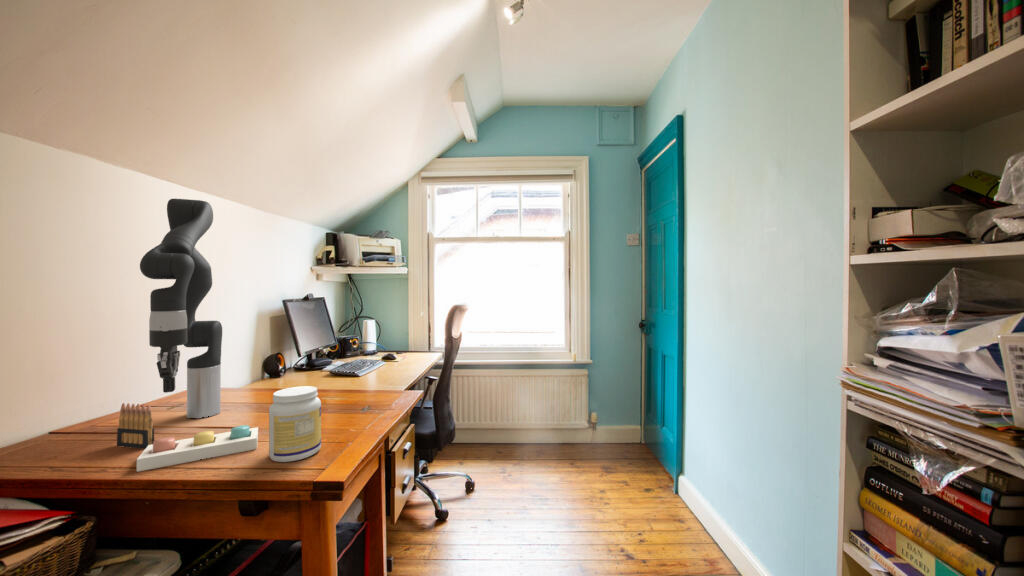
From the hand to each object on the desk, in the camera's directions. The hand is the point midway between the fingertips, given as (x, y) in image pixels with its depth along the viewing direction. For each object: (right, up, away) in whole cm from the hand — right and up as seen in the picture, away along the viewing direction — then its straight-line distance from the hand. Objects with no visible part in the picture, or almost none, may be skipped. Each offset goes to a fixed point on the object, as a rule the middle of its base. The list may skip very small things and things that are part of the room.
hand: (169, 391), depth 100 cm
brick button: (+2, -16, -4) cm, 16 cm away
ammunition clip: (-14, -17, +5) cm, 23 cm away
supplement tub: (+34, -17, 0) cm, 38 cm away
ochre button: (+9, -16, 0) cm, 18 cm away
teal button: (+16, -16, +5) cm, 23 cm away
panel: (+9, -17, +1) cm, 19 cm away
